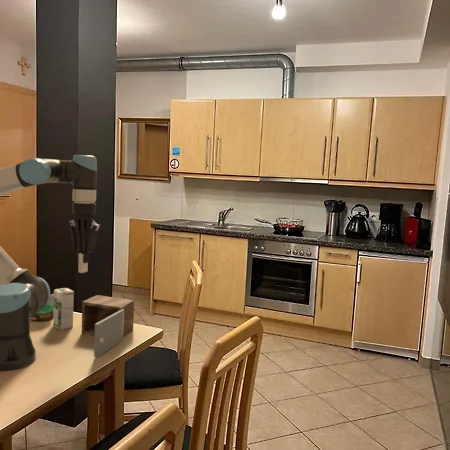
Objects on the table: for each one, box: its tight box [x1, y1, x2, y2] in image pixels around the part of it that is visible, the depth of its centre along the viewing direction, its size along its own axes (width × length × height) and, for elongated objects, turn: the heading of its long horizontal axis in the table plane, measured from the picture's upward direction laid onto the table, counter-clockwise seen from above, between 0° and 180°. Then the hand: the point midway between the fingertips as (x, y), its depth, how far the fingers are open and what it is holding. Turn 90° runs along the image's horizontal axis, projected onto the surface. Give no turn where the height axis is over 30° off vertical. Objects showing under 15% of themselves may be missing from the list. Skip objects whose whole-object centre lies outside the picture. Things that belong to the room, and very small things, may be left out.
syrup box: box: [52, 287, 75, 331], centre depth 172 cm, size 6×6×14 cm
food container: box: [30, 292, 54, 323], centre depth 179 cm, size 12×6×10 cm, turn 143°
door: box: [93, 309, 124, 358], centre depth 154 cm, size 17×2×11 cm, turn 163°
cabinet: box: [81, 294, 135, 339], centre depth 170 cm, size 16×10×12 cm, turn 75°
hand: (83, 271), depth 152 cm, fingers closed
